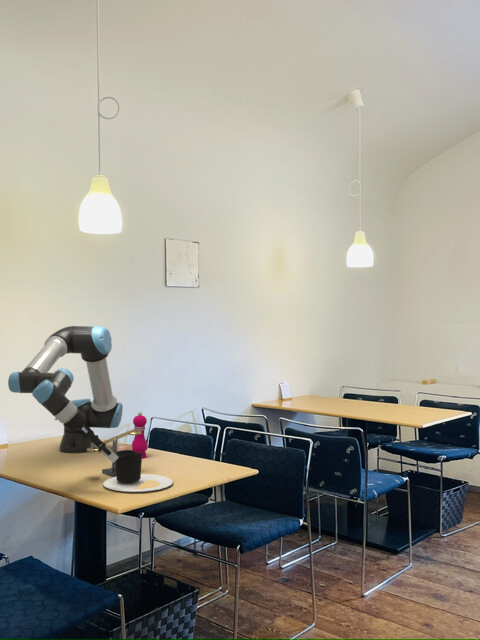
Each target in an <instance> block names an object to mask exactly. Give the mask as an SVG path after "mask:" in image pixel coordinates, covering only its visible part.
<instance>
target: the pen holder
mask: <svg viewBox="0 0 480 640" xmlns="http://www.w3.org/2000/svg"><path fill="white" fill-rule="evenodd" d="M116 455H117V456H118V457H119V458H118V459H117V460H116V478H117V481H119V482H136V481H139V480H140V478H141V474H142V462H143V461H142V460H143V458H142V452H140V453H137V452H134V451H132V450H122V451H118V452H116Z"/></svg>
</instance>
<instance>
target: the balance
mask: <svg viewBox="0 0 480 640" xmlns="http://www.w3.org/2000/svg"><path fill="white" fill-rule="evenodd" d="M139 434H142V432H141V431H135V429H134V428H132V429H130V430H127V431H125V432H123V433H121V434H117V435H115V436H113V437H111V438H108V439H106V440H103V441H102V442H103V443H105V444H106V445H107V444H109V443H111V442H112V451H113V452H114V453H115V454H116V452H117V444H118V443H119V442H118V440H119V439H121V438H124V437H126V436H128V435H130V436H135V435H139ZM98 450H99V449H98V448H97V447H96V446H95V445H94V444H93V443H92V442H91V447H90V448H87V452H91V453H93V452H94V453H96V452H98V453H99V451H98ZM111 462H112V461H111ZM111 465H112V466H111V467H110V468H109V467H108V468H104V469H103V468H102V471H101V472H102V474H103V475H106V476H108V477H110V478H113V477H116V461H115V462H114V463H113V462H112V463H111Z"/></svg>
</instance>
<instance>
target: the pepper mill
mask: <svg viewBox="0 0 480 640" xmlns="http://www.w3.org/2000/svg"><path fill="white" fill-rule="evenodd" d="M147 423H148V421H147V418H146V416H145V415H143V413H142V412H141V411H139V412H138V413H137V415H135V416H134V417H133V420H132V424H133V425H134V427H133V429H135V431H141V432H142V434H139V435H134V438H133V440H132V442H131V445H132V451H134V452H137V453H140V452H142V459H145V458H147V452H146V451H148V447H149V445H148V443H147V439H146V437H145V430H146V425H147Z"/></svg>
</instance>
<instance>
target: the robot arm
mask: <svg viewBox="0 0 480 640" xmlns="http://www.w3.org/2000/svg"><path fill="white" fill-rule="evenodd" d="M112 341H113V340H112V335H111V333H110V330H109V329H108V328H106V327H104V326H99V325H94V326H85V325H84V326H81V325H78V326H77V325H70V326H66V327H63V328H61V329H59V330H56V331H55V332H53V333H52V334H50V336H48V338H46V339H45V341H44V346H43V347H42V348H41V349H40V350H39V352H38V353H37V354H36V355H35V356H33V358H32V359H31V361H30V362H29V363H28V364H27V365H26V366H25V368H23V370H22V371H15V372H14V371H13V372H11V373H10V374H9V376H8V381H7V386H8V389H9V392H12V393H15V394H17V393H18V394H32V397H33V398H34V399H35V400H36V401H37V402H38V403H39V404H40V405H41V406H42V407H44V408H45V409H46V410H47V411H48V412H49V413H51V416H53V417H54V421H58V422H60V423H61V424H62V425H63V435H62V438H61V441H60V444H59V451H60V452H62V453H70V454H71V453H73V454H74V453H75V454H76V453H77V454H78V453H87V452H88V451H87V448H90V447H91V442H92V443H93V444H94V445H95V446H96V447H97V448H98V449H99V450H98V453H100V452H101V453H102V454H103V455H104V456H105V457H106V458H107V459H108V460H109V461H110V462H113V463H114V462H115V461H116V460H117V459H118V458H119V457H118V456H117V455H116V454H115V453H114V452H113V449H111V448H110V447H109V446H108V445H107V444H105V443H103V441H102V440H101V439H100V438H99V435H98V434H95V431H94V430H92V428H94V429H95V428H97V429H98V428H99V429H116V428H118V427H119V426H120V424H121V422H122V416H123V408H124V407H123V404H122V402H118V399H117V397H116V396H115V395H113V391H112V384H111V378H110V374H109V373H110V372H109V367H108V361H107V357H108V356H109V354H110V353H111V351H112V347H113V346H112V345H113V344H112ZM66 354H80V356H81V360H82V361H83V362H85V363H86V369H87V374H88V378H89V383H90V388H91V393H92V394H91V395H92V398H93V399H92V401H91V398H82V399H81V398H80V399H74V400H73V399H72V400H70V399H69V398H68V397H67V396H66V394H67V393H68V391H69V390H70V388H71V387H72V384H73V382H74V381H75V380H74V379H75V378H74V374H73V373H72V371H70V370H69V369H68V368H63V367H61V368H58V369H57V370H56V371H54V372H49V371H50V370H51V368H52V367H53V366H54V365H55V363H56V362H58V360H59V359H60V358H63V357H64V356H66Z"/></svg>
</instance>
